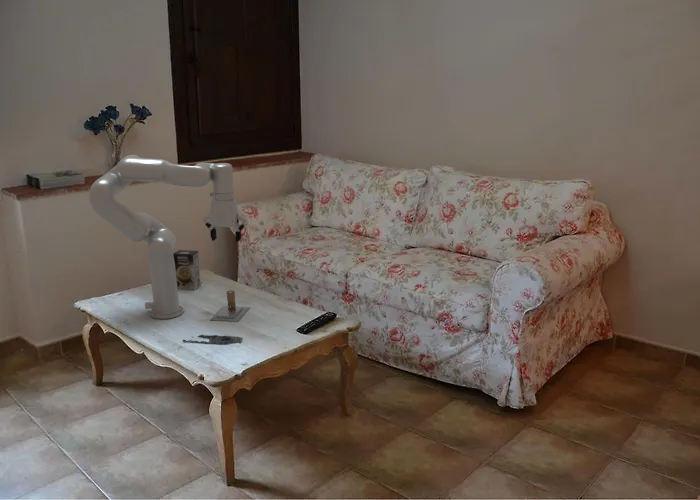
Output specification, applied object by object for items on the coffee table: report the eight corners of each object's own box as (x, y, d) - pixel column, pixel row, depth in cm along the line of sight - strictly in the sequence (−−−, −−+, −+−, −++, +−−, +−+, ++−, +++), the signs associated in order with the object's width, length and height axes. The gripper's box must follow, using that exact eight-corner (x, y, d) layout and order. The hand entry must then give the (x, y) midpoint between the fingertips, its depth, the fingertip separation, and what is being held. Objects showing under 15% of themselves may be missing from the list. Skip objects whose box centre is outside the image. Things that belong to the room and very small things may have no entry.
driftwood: (245, 339, 229) (244, 334, 228) (238, 347, 222) (237, 342, 222) (190, 336, 233) (190, 331, 232) (182, 344, 226) (181, 339, 226)
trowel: (216, 317, 246) (214, 298, 244) (225, 308, 256) (224, 289, 253) (233, 318, 245) (232, 298, 243) (242, 309, 254) (241, 289, 252)
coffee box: (175, 289, 279) (172, 253, 275) (181, 284, 286) (178, 249, 281) (195, 290, 278) (192, 254, 273) (201, 285, 284) (198, 250, 280)
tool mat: (210, 320, 245) (210, 319, 245) (223, 307, 258) (223, 306, 258) (237, 321, 243) (237, 320, 243) (249, 308, 256) (249, 307, 256)
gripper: (197, 197, 241) (200, 241, 245) (242, 199, 237) (244, 244, 242) (206, 193, 248) (208, 236, 252) (249, 195, 245) (250, 239, 249)
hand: (226, 240), depth 247 cm, fingers open, 9 cm apart
